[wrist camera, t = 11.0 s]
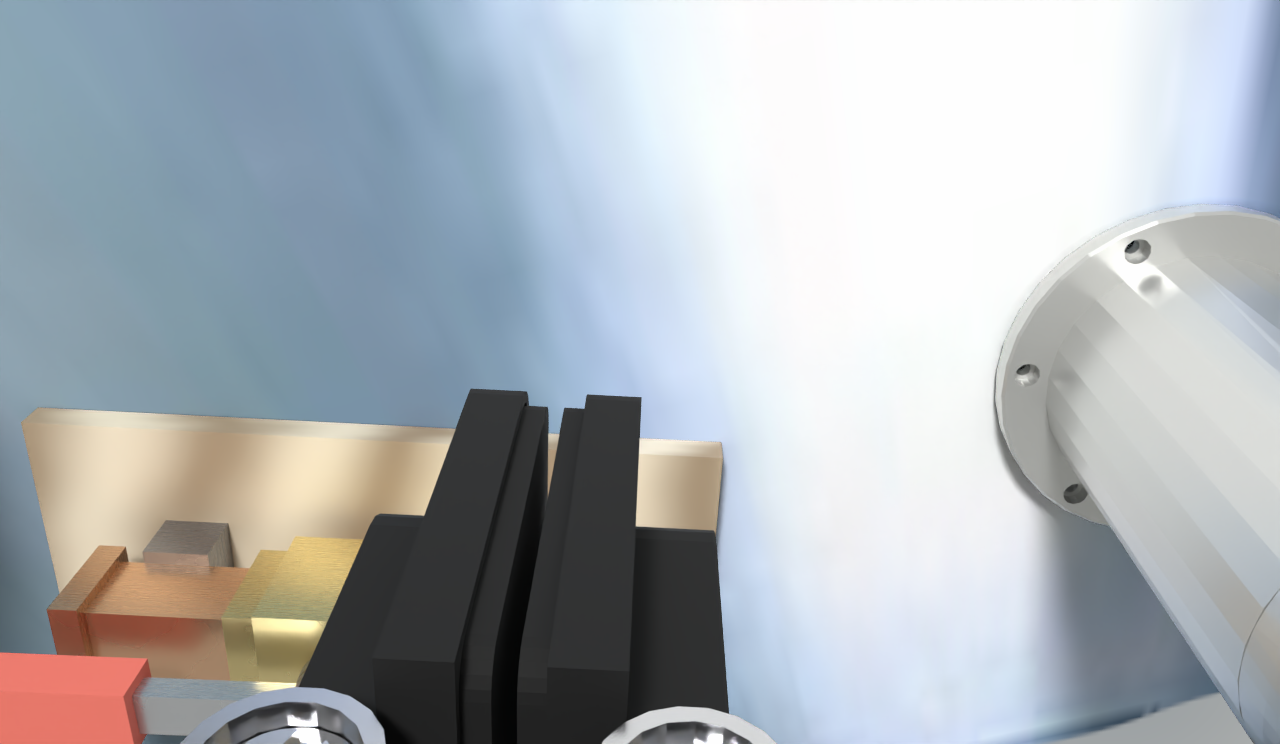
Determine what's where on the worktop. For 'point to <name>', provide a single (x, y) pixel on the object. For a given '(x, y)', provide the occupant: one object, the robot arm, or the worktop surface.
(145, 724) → the valve lever
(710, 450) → the board
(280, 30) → the worktop surface
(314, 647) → the valve body
